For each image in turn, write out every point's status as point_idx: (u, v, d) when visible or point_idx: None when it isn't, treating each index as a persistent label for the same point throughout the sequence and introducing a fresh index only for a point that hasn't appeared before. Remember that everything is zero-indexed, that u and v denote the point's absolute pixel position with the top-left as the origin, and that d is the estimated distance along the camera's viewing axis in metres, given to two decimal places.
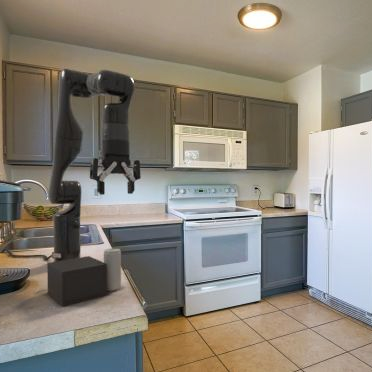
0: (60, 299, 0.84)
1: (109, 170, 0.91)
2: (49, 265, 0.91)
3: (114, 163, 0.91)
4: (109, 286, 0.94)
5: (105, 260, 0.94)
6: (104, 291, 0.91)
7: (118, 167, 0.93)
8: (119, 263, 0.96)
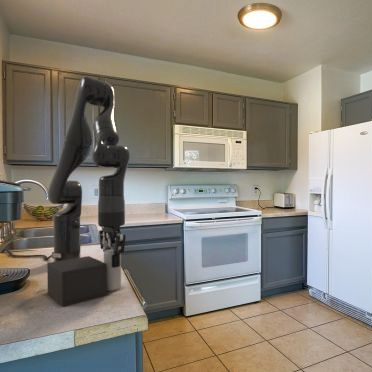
0: (60, 299, 0.84)
1: (103, 241, 0.96)
2: (49, 265, 0.91)
3: (103, 233, 0.96)
4: (109, 286, 0.94)
5: (105, 260, 0.94)
6: (104, 291, 0.91)
7: None
8: None
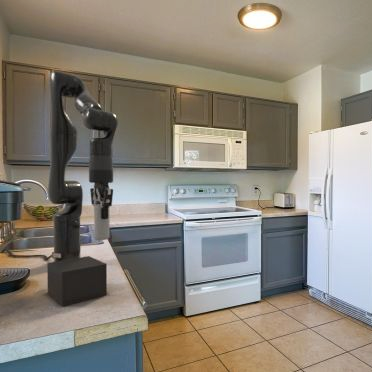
0: (60, 299, 0.84)
1: (93, 196, 1.08)
2: (49, 265, 0.91)
3: (93, 189, 1.08)
4: (98, 235, 1.06)
5: (95, 213, 1.06)
6: (104, 291, 0.91)
7: None
8: (108, 216, 1.08)
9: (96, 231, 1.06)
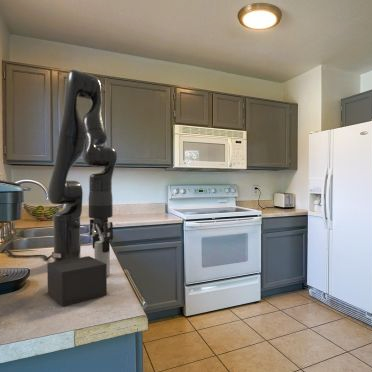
0: (60, 299, 0.84)
1: (92, 229, 1.10)
2: (49, 265, 0.91)
3: (93, 224, 1.09)
4: None
5: (95, 250, 1.07)
6: (104, 291, 0.91)
7: None
8: (108, 253, 1.09)
9: None
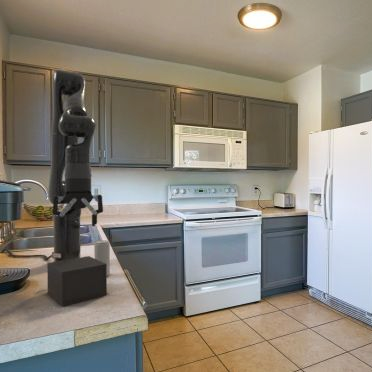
0: (60, 299, 0.84)
1: (69, 206, 0.99)
2: (49, 265, 0.91)
3: (73, 199, 1.00)
4: None
5: (95, 250, 1.07)
6: (104, 291, 0.91)
7: (79, 202, 1.01)
8: (108, 253, 1.09)
9: None
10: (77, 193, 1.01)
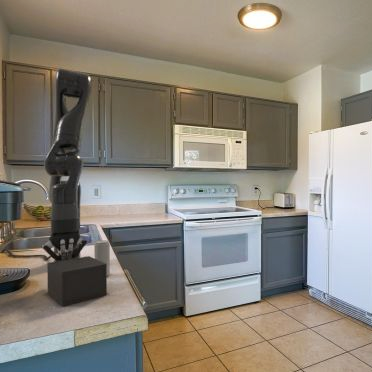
0: (60, 299, 0.84)
1: (63, 249, 0.97)
2: (49, 265, 0.91)
3: (62, 241, 0.97)
4: None
5: (95, 250, 1.07)
6: (104, 291, 0.91)
7: (66, 243, 0.99)
8: (108, 253, 1.09)
9: None
10: (65, 234, 0.98)
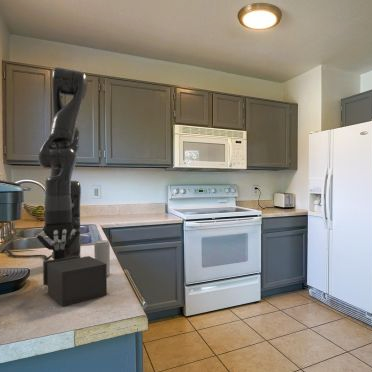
0: (60, 299, 0.84)
1: (56, 239, 1.01)
2: (49, 265, 0.91)
3: (55, 231, 1.00)
4: None
5: (95, 250, 1.07)
6: (104, 291, 0.91)
7: (60, 234, 1.02)
8: (108, 253, 1.09)
9: None
10: (58, 224, 1.01)
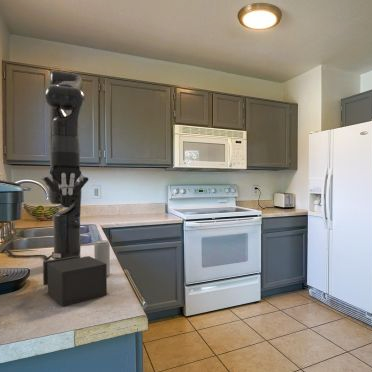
0: (60, 299, 0.84)
1: (64, 182, 0.96)
2: (49, 265, 0.91)
3: (63, 174, 0.95)
4: None
5: (95, 250, 1.07)
6: (104, 291, 0.91)
7: (67, 178, 0.97)
8: (108, 253, 1.09)
9: None
10: (66, 168, 0.96)
